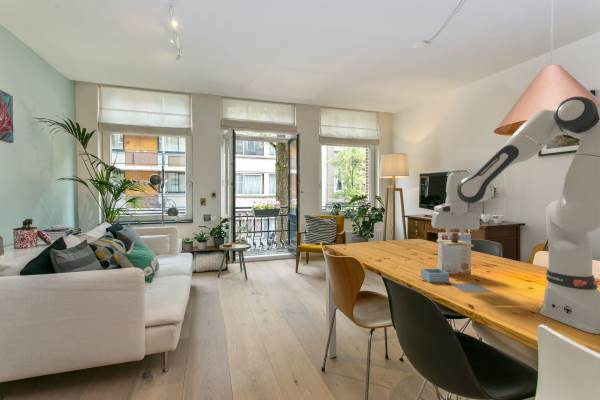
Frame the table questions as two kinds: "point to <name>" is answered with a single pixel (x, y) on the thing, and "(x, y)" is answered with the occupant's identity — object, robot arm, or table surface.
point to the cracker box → (454, 256)
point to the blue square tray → (435, 275)
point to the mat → (471, 287)
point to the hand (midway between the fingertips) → (454, 239)
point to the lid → (455, 241)
